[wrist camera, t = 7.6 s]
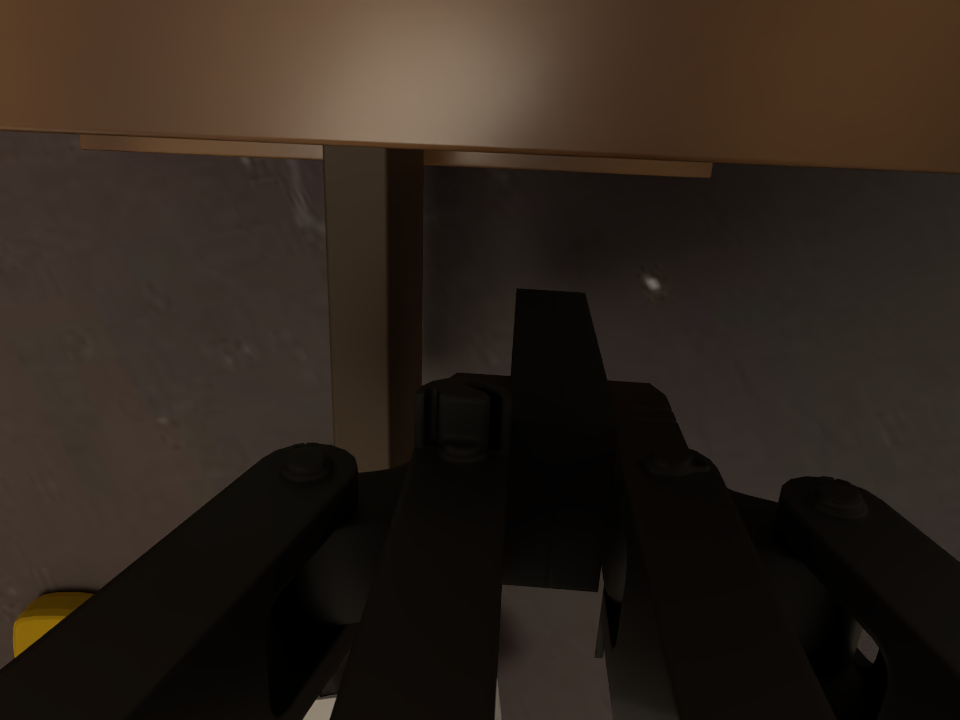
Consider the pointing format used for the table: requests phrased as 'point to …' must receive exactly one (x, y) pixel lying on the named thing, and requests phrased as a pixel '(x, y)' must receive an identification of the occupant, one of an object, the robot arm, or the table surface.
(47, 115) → the window frame
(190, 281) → the table surface
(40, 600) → the yellow walkie talkie
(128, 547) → the table surface
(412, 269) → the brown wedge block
